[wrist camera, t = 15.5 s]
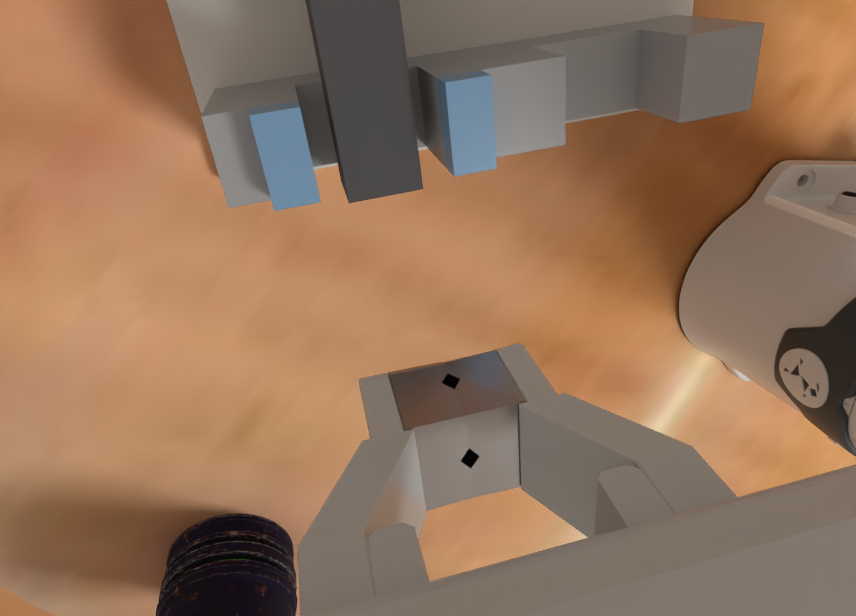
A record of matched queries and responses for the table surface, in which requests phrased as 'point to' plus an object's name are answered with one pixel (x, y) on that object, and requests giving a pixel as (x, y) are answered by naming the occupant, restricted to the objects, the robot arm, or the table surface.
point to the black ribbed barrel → (230, 570)
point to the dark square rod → (367, 95)
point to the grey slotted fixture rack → (455, 79)
